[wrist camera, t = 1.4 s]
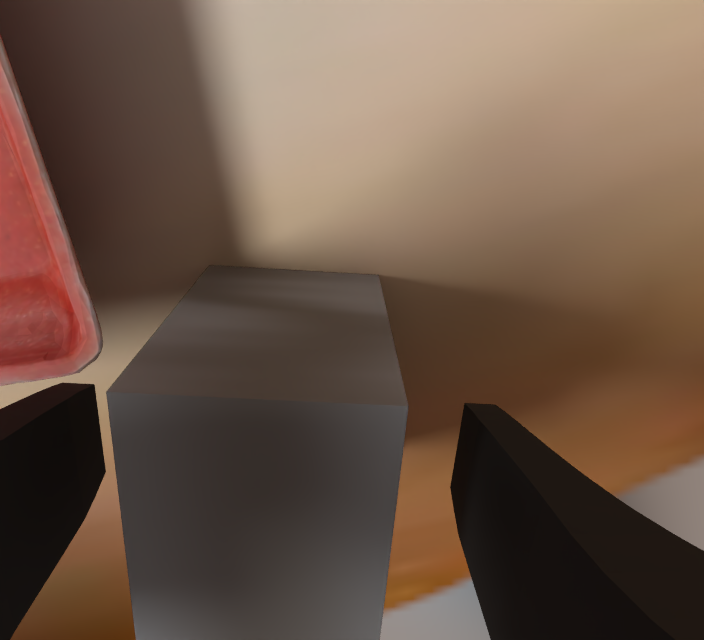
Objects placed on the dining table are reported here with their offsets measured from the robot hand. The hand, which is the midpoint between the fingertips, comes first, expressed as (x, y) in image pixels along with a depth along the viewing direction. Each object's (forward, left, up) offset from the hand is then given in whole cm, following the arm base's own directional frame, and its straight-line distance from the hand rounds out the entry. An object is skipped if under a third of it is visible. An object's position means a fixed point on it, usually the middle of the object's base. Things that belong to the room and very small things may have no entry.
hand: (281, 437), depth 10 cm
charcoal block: (0, 0, -3) cm, 3 cm away
